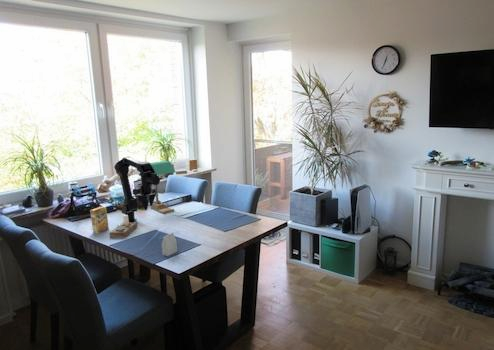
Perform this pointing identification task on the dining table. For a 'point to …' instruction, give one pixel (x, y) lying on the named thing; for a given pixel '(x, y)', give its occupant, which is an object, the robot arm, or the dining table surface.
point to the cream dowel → (126, 220)
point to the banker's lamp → (160, 169)
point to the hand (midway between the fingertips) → (148, 207)
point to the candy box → (99, 219)
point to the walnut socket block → (125, 232)
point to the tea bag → (169, 244)
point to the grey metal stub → (120, 227)
